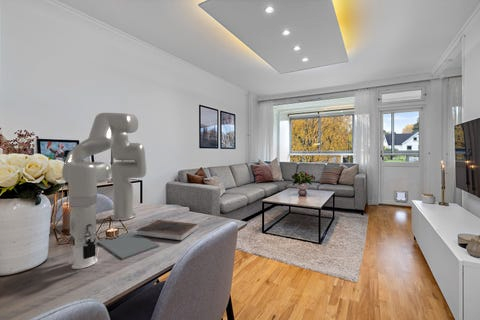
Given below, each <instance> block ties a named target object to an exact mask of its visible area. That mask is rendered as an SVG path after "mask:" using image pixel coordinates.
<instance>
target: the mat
mask: <svg viewBox="0 0 480 320" xmlns="http://www.w3.org/2000/svg"><path fill="white" fill-rule="evenodd" d="M118 236H119V237H118V238H116V239H113V240H106V239H102V240H98V241H97V244H99V245H100V246H102V248H105V249H106V250H108V252H110V253H112V254H113V255H115V256H116V257H118V258H119V259H120V260H121V261H122V260H125V259H128V258H132V257H134V256H136V255H137V256H138V255H139V254H142V253H145V252H148V251H150V250H153V249H155V248H158V247H160V244H159V243H157V242H154V241H152V240H150V239H149V238H146V237H145V236H141V235H137V234H136V232H134V231H131V232H127V233H123V234H120V235H119V234H118Z"/></svg>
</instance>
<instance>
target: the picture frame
mask: <svg viewBox="0 0 480 320" xmlns="http://www.w3.org/2000/svg"><path fill="white" fill-rule="evenodd" d="M198 229H199V223H193V222H191V223H190V222H185V221H182V222H181V221H173V220H164V219H163V220H162V219H157V220H156V221H153V222H151V223H149V224H147V225H144V226H142V227H139V228H138V229H136V232H135V233H136V234H137V235H140V236H142V237H150V238H161V239H169V240H173V241H174V240H176V241H183V240H184V239H185V238H187V237H188V236H189V235H191V234H192V233H193V232H195V231H196V230H198Z"/></svg>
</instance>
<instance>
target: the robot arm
mask: <svg viewBox="0 0 480 320" xmlns="http://www.w3.org/2000/svg"><path fill="white" fill-rule="evenodd" d="M138 128H139V119H138V117H137V116H136V115H135V114H129V113H122V112H119V113H118V112H101V113H98V114H97V115H96V116H95V118H94V120H93V123H92V127H91V129H90V133H89V136H88V138H86V139H85V140H83V141H81V142H80V143H78V144H76V145H75V146H74V147H73V148H72V149H70V150H69V152H68V153H67V155H66V157H65V159H64V163H63V165H62V169H61V177H62V179H63V180H64V182H66V183H68V208H70V212H69V235H70V236H72V245H73V246H74V245H75V239H74V237H75V238H76V239H78V240H81V239H82V238H83V242H84V246H83V258H84V259H87V258H90V257H93V256H95V257H96V256H97V254H96V245H97V244H96V240H97V239H96V236H97V234H96V233H97V221H96V220H97V219H96V217H97V216H96V209H95V207H96V206H97V205H98V189H97V187H98V186H97V185H98V183H99V184H100V183H101V184H102V183H105V182H107V181H108V180H109V179H110V177H112V190H113V193H112V194H113V195H112V196H113V197H112V199H113V214H112V215H111V216H110V217H111V219H112V220H111V219H110V220H111V221H113V222H114V221H115V222H117V221H118V222H120V221H119V219H120V220H121V221H122V222H123V221H128V220H131V219H134V218H136V216H137V214H136V213H135V212H134V202H133V201H134V199H133V198H134V197H133V196H134V195H133V194H134V193H133V192H134V191H133V183H132V182H131V181H130V180H129V179H140V178H141V179H142V178H144V177H145V176H146V174H147V161H146V151H145V147H144V144H142V143H138V142H129V135H128V134H133V133H136V132H137V130H138ZM108 150H110V151H111V156H112V158H113V160H115V161H114V162H113V163H112V164H111V166H110V165H109V164H108V163H106V162H102V161H84V159H86V158H88V157H91V156H95V155H97V154H99V153H103V152H105V151H108ZM65 163H66V164H65ZM118 218H119V219H118ZM85 235H87V236H85ZM88 238H90V239H88ZM86 239H88V241H87V240H86ZM73 246H72V247H73Z"/></svg>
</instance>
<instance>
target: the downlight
mask: <svg viewBox="0 0 480 320" xmlns="http://www.w3.org/2000/svg"><path fill="white" fill-rule="evenodd" d="M85 236H87V235H85ZM74 239H75V245H74V246H72V249H71V254H70V257H69V264H71V269H75V270H80V269H85V268H89V267H91V266H93V265H94V264H96V263H97V262H98V255H99V252H100V250H99V249H100V248H97V252H96V253H97V254H96V255H95V256H93V257H90V258H87V259H84V258H83V246H84V242H83V238H82V239H81V240H78V239H76V238H75V237H74ZM88 239H90V238H88ZM88 239H86V240H87V241H88ZM72 256H73V263H72Z"/></svg>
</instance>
